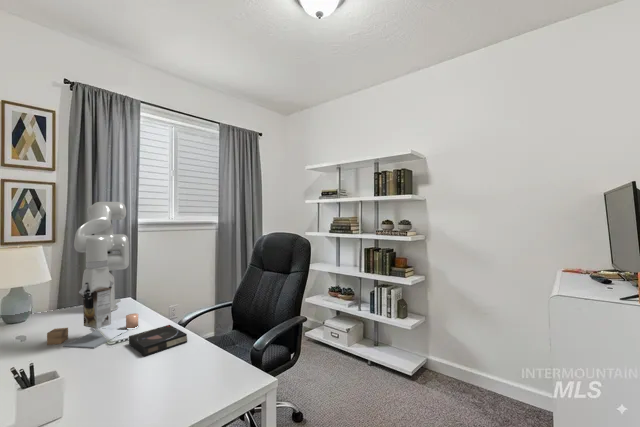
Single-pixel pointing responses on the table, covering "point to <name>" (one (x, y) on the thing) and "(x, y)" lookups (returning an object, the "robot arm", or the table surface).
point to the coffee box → (98, 309)
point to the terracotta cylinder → (132, 320)
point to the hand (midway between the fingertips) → (97, 305)
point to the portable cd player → (157, 340)
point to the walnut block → (57, 336)
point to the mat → (88, 341)
